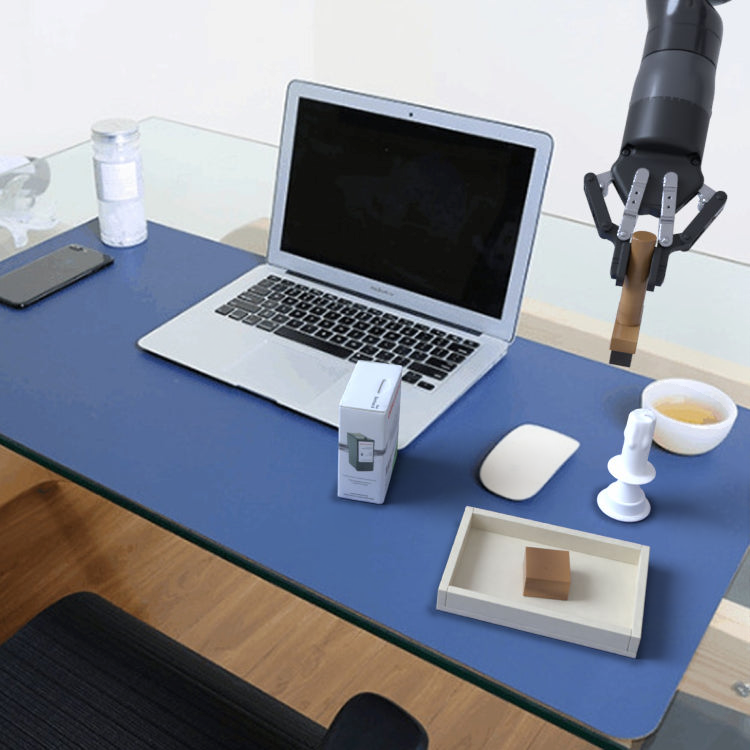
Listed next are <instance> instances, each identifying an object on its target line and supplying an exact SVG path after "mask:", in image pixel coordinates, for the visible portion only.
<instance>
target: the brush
mask: <svg viewBox="0 0 750 750" xmlns="http://www.w3.org/2000/svg"><path fill="white" fill-rule="evenodd" d="M657 242H658V235H656V234H655V233H653V232H652V231H651V232H650V231H647V230H636V231H633V234H632V237H631V240H630V243H631V247H630V252H629V257H628V263H627V268H626V273H625V278H624V283H623V287H621V293H620V299H619V302H618V306H617V311H616V314H615V320H614V325H613V327H612V329H613V330H612V333H611V338H610V344H609V348H608V350H609V351H610V355H609V361H608V364H609V365H612V366H613V365H614V366H619V367H623V368H629V369H630V368H631V365H632V361H633V355H636V352H637V348H638V346H637V345H638V342H639V337H640V331H641V324H642V320H643V313H644V308H645V300H646V296H647V291H646V289H647V283H648V278H649V273H650V268H651V263H652V258H653V253H654V248H655V247H657Z"/></svg>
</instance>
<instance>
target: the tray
mask: <svg viewBox="0 0 750 750" xmlns="http://www.w3.org/2000/svg"><path fill="white" fill-rule="evenodd" d="M526 547H535V548H545V549H554V550H563V551H569V556H570V573H571V585H570V590H569V595H568V600H567V601H564V600H555V599H546V598H537V597H528V596H523V560H524V554H525V548H526ZM650 553H651V546H649V545H644V544H641V543H637V542H631V541H627V540H623V539H618V538H614V537H609V536H604V535H600V534H597V533H591V532H587V531H584V530H583V531H582V530H578V529H574V528H569V527H564V526H560V525H555V524H551V523H546V522H541V521H537V520H532V519H529V518H523V517H519V516H514V515H510V514H506V513H501V512H498V511H497V512H496V511H493V510H487V509H483V508H479V507H473V506H469V505H466V506H465V508H464V512H463V515H462V518H461V521H460V524H459V526H458V530H457V533H456V536H455V538H454V541H453V544H452V547H451V551H450V554H449V556H448V559H447V563H446V565H445V568H444V571H443V574H442V577H441V579H440V580H441V581H440V582H439V586H438V589H437V599H436V606H435V607H436V608H435V609H436V610H437V611H441V612H444V613H445V612H446V613H450V614H453V615H457V616H462V617H466V618H470V619H473V620H478V621H482V622H487V623H490V624H494V625H499V626H501V627H506V628H509V629H510V628H511V629H514V630H519V631H521V632H522V631H523V632H525V633H526V632H527V633H531V634H535V635H538V636H543V637H546V638H547V637H548V638H551V639H554V640H558V641H562V642H566V643H571V644H575V645H578V646H579V645H580V646H583V647H588V648H591V649H595V650H599V651H603V652H608V653H611V654H616V655H620V656H624V657H628V658H632V659H636V657H637V653H638V650H639V646H640V643H641V639H642V629H643V621H644V611H645V603H646V593H647V592H646V591H647V584H648V583H647V582H648V573H649V565H650V564H649V563H650V555H651V554H650Z"/></svg>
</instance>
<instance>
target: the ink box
mask: <svg viewBox="0 0 750 750" xmlns="http://www.w3.org/2000/svg"><path fill="white" fill-rule="evenodd" d="M402 377H403V365H399V364H392V363H384V362H377V361H371V360H362V359H359V360H357V362H356V364H355V366H354V369H353V371H352V373H351V376H350V378H349V381H348V383H347V384H346V387H345V389H344V392H343V394H342V396H341V398H340V402H339V404H338V459H337V460H338V461H337V497H338V498H342V499H348V500H353V501H358V502H365V503H372V504H377V505H382V504H383V503H384V502H385V500H386V499H385V498H386V495H387V492H388V488H389V486H390V485H389V484H390V481H391V477H392V474H393V471H394V467H395V465H396V464H395V463H396V461H397V456H398V447H399V445H398V444H399V434H400V433H399V432H400V431H399V430H400V416H401V415H400V412H401V395H402V379H403V378H402Z"/></svg>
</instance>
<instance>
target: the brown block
mask: <svg viewBox="0 0 750 750" xmlns="http://www.w3.org/2000/svg"><path fill="white" fill-rule="evenodd" d="M570 585H571V573H570V556H569V551H563V550H554V549H545V548H535V547H526V548H525V554H524V560H523V596H528V597H537V598H546V599H555V600H564V601H567V600H568V595H569V590H570Z"/></svg>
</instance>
